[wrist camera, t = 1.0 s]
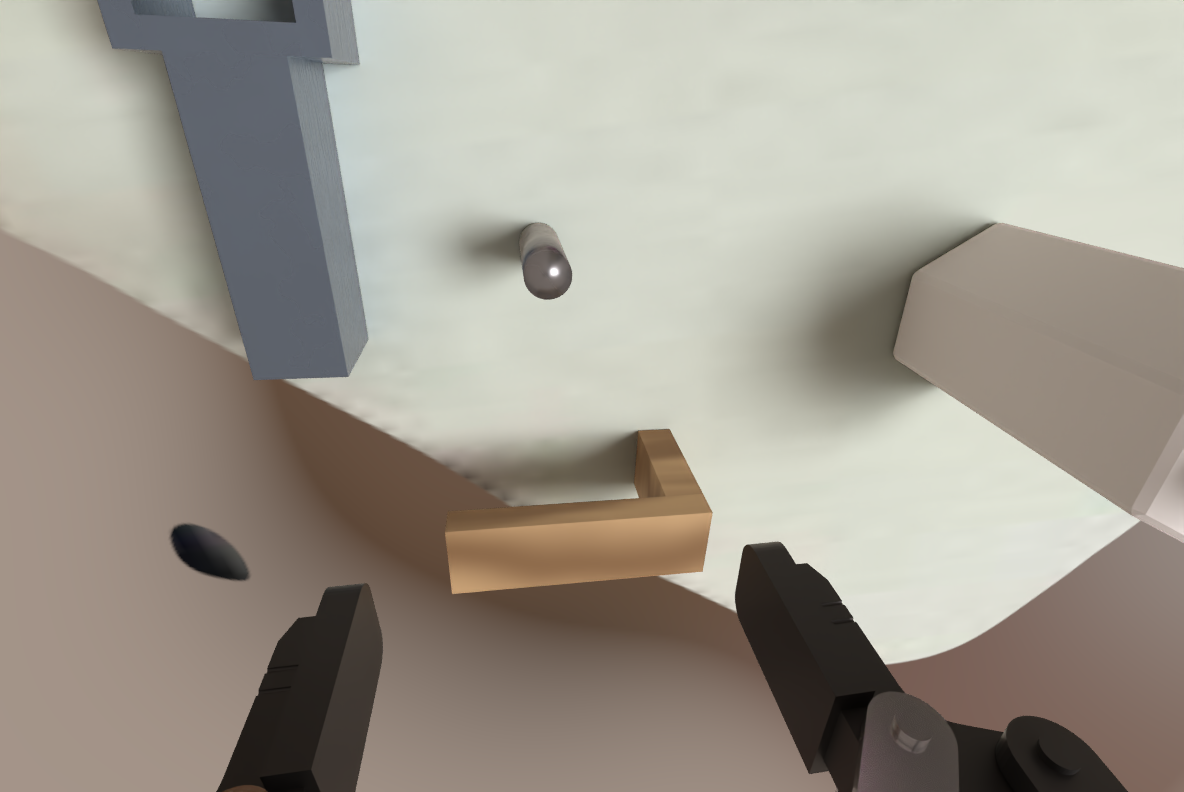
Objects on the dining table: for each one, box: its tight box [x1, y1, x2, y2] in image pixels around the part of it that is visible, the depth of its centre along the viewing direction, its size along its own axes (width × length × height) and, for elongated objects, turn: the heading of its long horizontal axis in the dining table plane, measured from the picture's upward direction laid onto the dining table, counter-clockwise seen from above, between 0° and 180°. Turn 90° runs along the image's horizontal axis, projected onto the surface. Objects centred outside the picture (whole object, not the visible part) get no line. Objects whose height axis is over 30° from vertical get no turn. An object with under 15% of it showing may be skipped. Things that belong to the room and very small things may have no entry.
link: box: [97, 0, 368, 380], centre depth 23 cm, size 20×7×4 cm, turn 178°
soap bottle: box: [893, 223, 1184, 543], centre depth 24 cm, size 10×9×22 cm
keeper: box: [445, 429, 713, 594], centre depth 31 cm, size 4×13×8 cm, turn 88°
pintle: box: [519, 223, 572, 299], centre depth 26 cm, size 2×2×6 cm
